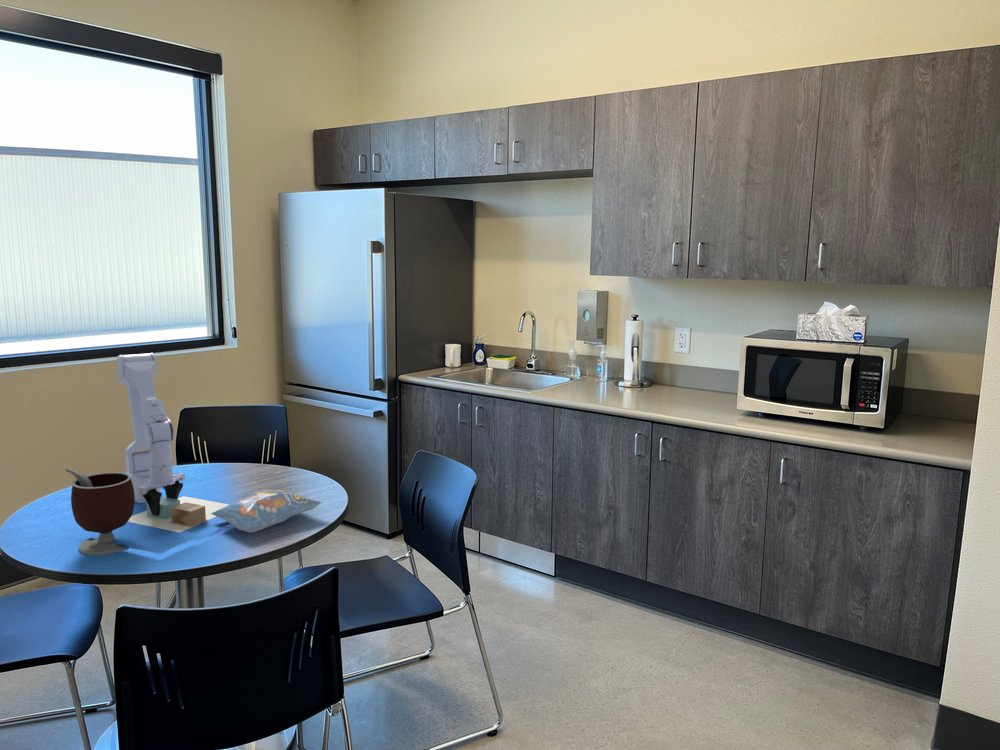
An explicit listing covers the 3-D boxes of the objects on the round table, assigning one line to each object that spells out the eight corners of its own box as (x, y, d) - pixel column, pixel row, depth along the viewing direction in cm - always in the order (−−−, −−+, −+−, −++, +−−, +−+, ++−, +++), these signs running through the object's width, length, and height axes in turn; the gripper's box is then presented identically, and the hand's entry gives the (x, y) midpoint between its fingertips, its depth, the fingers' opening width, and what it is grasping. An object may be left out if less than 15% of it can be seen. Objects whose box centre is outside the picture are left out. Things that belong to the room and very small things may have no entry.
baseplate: (121, 524, 197) (120, 519, 197) (184, 500, 217) (183, 495, 217) (179, 536, 190) (179, 532, 189) (239, 510, 210) (239, 506, 209)
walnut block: (171, 522, 196) (171, 507, 196) (186, 516, 201) (185, 502, 200) (191, 526, 194) (191, 511, 193) (205, 519, 198) (205, 505, 198)
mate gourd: (147, 534, 190) (142, 461, 187) (121, 556, 177) (115, 477, 174) (87, 534, 190) (81, 460, 187) (56, 556, 176) (49, 476, 173)
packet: (322, 518, 204) (321, 489, 203) (245, 542, 186) (244, 511, 185) (286, 504, 215) (285, 477, 214) (210, 526, 197) (209, 496, 196)
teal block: (147, 515, 201) (146, 501, 200) (161, 509, 205) (160, 496, 205) (166, 519, 198) (165, 505, 198) (180, 513, 203) (179, 499, 202)
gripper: (150, 473, 191) (153, 522, 194) (192, 459, 205) (194, 505, 207) (130, 470, 194) (133, 518, 196) (173, 456, 207) (176, 502, 210)
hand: (163, 511), depth 202 cm, fingers closed on teal block, 5 cm apart
